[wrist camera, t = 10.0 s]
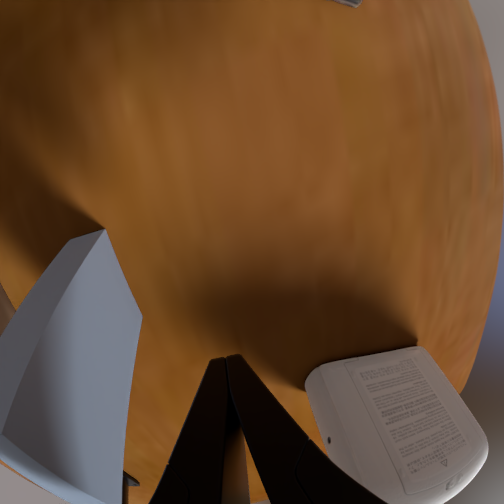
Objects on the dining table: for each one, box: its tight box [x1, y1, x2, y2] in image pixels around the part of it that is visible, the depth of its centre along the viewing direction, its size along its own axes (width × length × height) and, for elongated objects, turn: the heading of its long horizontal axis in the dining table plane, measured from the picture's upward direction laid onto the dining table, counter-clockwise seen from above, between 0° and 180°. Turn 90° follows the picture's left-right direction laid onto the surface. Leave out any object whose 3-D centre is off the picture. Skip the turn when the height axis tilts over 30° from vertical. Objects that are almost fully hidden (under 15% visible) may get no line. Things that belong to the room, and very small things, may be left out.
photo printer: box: [305, 346, 488, 504], centre depth 14 cm, size 10×4×12 cm, turn 85°
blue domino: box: [0, 229, 143, 504], centre depth 9 cm, size 5×2×10 cm, turn 9°
